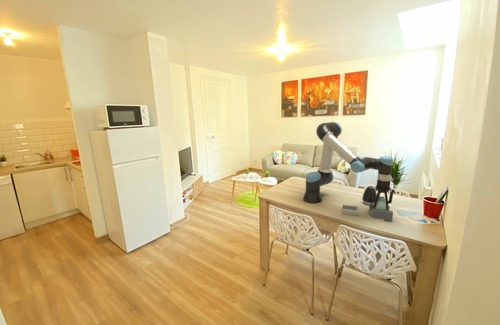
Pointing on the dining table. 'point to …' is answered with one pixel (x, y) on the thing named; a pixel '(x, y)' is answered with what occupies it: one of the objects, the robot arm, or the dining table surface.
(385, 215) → the port
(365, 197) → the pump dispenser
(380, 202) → the plug
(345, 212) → the holster
